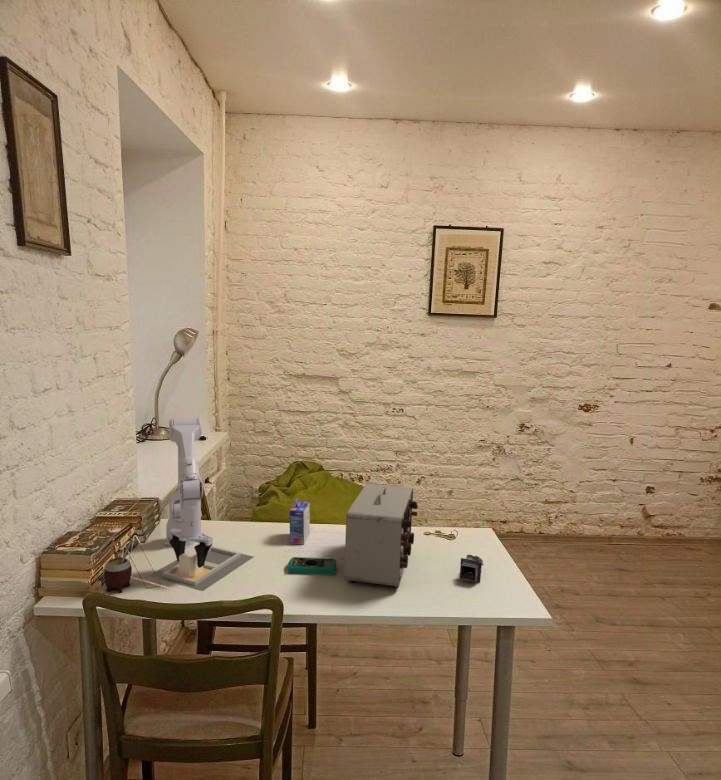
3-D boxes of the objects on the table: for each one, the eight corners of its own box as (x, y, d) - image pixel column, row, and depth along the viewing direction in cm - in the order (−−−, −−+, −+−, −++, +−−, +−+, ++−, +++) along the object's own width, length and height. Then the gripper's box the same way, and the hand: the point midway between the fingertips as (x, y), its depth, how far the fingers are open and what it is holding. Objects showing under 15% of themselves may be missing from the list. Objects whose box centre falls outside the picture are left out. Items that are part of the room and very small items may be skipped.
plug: (179, 575, 157) (178, 555, 157) (194, 566, 163) (194, 547, 163) (189, 578, 156) (189, 558, 155) (204, 569, 162) (204, 550, 161)
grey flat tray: (148, 577, 157) (148, 572, 157) (204, 546, 180) (204, 541, 180) (202, 592, 149) (202, 587, 149) (254, 558, 172) (254, 553, 172)
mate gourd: (101, 586, 150) (100, 535, 149) (131, 579, 155) (130, 530, 153) (108, 597, 145) (106, 545, 143) (138, 589, 149) (137, 538, 148)
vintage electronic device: (405, 593, 153) (409, 510, 150) (343, 585, 156) (346, 503, 153) (416, 549, 184) (419, 478, 181) (364, 543, 187) (367, 474, 184)
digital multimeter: (289, 564, 170) (290, 555, 169) (336, 566, 170) (336, 557, 169) (286, 575, 162) (286, 566, 162) (335, 577, 162) (335, 567, 162)
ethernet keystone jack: (485, 568, 171) (487, 549, 170) (478, 586, 159) (480, 566, 158) (465, 564, 173) (467, 545, 172) (457, 582, 161) (458, 561, 160)
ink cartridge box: (295, 532, 194) (295, 494, 192) (309, 534, 193) (310, 495, 192) (288, 543, 184) (289, 503, 182) (304, 545, 184) (305, 504, 182)
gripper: (161, 519, 156) (162, 563, 158) (201, 528, 151) (201, 574, 152) (178, 512, 163) (179, 554, 164) (217, 520, 157) (217, 564, 159)
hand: (190, 563), depth 159 cm, fingers open, 7 cm apart
